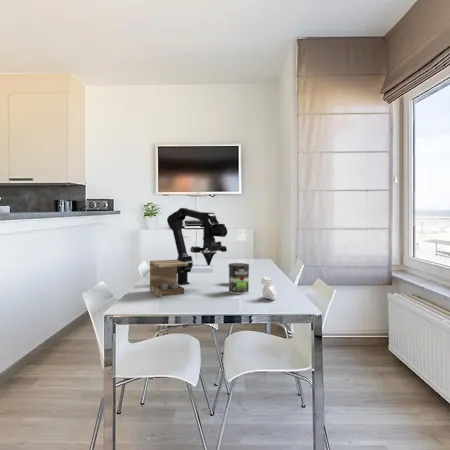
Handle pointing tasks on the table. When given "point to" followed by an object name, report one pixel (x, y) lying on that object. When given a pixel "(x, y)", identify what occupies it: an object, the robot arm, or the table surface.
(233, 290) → the coffee can
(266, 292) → the duck figurine
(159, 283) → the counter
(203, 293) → the table surface
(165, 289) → the tray
